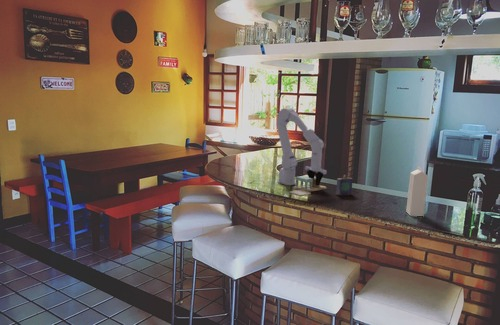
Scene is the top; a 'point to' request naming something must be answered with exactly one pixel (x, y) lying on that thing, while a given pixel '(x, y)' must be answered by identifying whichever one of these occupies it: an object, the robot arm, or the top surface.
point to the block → (315, 183)
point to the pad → (300, 192)
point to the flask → (344, 186)
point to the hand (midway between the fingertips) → (314, 184)
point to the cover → (304, 181)
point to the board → (309, 188)
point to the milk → (417, 193)
